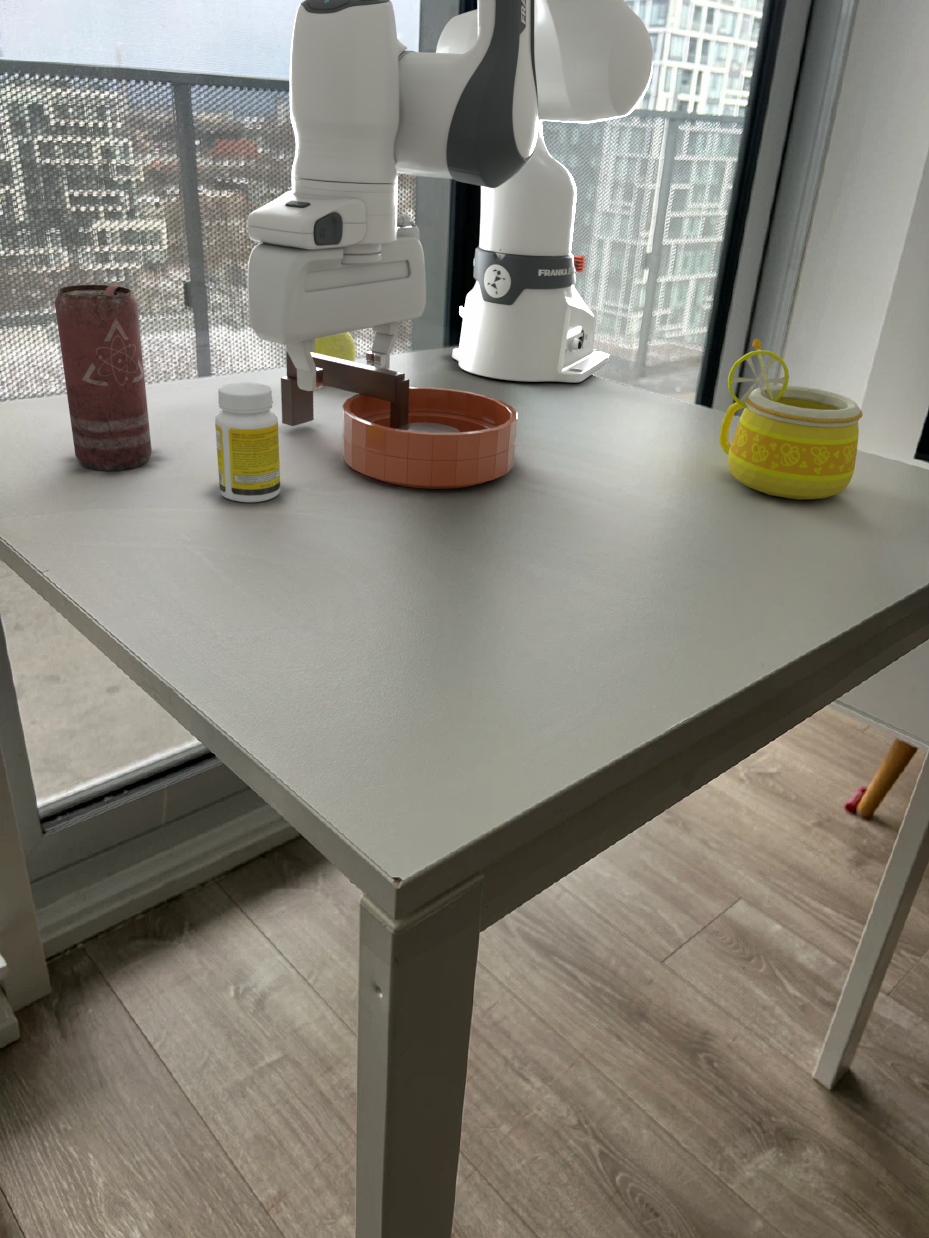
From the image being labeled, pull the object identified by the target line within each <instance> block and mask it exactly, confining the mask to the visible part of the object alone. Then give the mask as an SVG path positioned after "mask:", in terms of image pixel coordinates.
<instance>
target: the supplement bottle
mask: <svg viewBox="0 0 929 1238" xmlns="http://www.w3.org/2000/svg"><path fill="white" fill-rule="evenodd" d="M217 392H218V394H217V395H218V396H217V397H218V407H219V409H220V411H219V412H217V413H216V415H215V418H214V425H215V426H214V427H215V437H216V438H215V440H216V454H217V470H218V471H217V472H218V484H219V493H220V494H221V496H222V497H224V498H225V499H228V500H230V501H235V502H240V503H261V502H265V501H269V500H271V499H274V498H275V497H277V496H278V495H279V494H280V492H281V469H280V468H281V466H280V464H281V463H280V441H279V437H280V436H279V420H278V416H277V414H276V413H275V412H274V411H272V410H271V409H273V404H274V400H273V389H272V388H271V387H270V386H269V385H267V384H262V383H257V382H233V383H227V384H223V385H221V386H219V387H218V390H217Z"/></svg>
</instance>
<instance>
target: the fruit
mask: <svg viewBox="0 0 929 1238" xmlns="http://www.w3.org/2000/svg"><path fill="white" fill-rule="evenodd" d="M356 349H357V347H356V344H355V341H354V338H353V337H352V335H351V332H347V333H342V334H337V335H332V336H327V337H322V338H317V339H315V351H314V352H312V353H317V354H321V355H326V356H330V357H334V358H339V359H343V360H348V361H352V362H356V361H355V360H356V356H357V350H356Z"/></svg>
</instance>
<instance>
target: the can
mask: <svg viewBox="0 0 929 1238" xmlns="http://www.w3.org/2000/svg"><path fill="white" fill-rule="evenodd" d="M138 304H139V303H138V301H137V299H136V297H135V296H134V294H133V291H132V289H130V288H128V287H125V286H120V285H119V284H110V285H109V284H77V285H68V286H63V287H60V288H58V290H57V295H56V298H55V300H54V308H55V314H56V316H55V317H56V323H57V330H58V331H57V332H58V338H59V346H60V352H61V360H62V367H63V375H64V382H65V390H66V397H67V404H68V411H69V418H70V425H71V426H70V428H71V434H72V440H73V441H72V442H73V448H74V449H73V450H74V456H75V458H76V459H77V460H78V462H79V463H80V465H82V466H83V467H86V468H87V469H90V470H91V469H92V470H95V471H105V472H107V471H108V472H112V471H114V472H115V471H116V472H117V471H125V470H130V469H131V470H132V469H135V468H139V467H142V466H143V465H145V464H147V463H148V462H149V460H150V459H151V456H152V453H153V451H152V440H151V430H150V429H151V428H150V420H149V419H150V418H149V409H148V398H147V388H146V377H145V369H144V357H143V346H142V337H141V336H142V335H141V327H140V316H139V315H140V314H139V305H138Z"/></svg>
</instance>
